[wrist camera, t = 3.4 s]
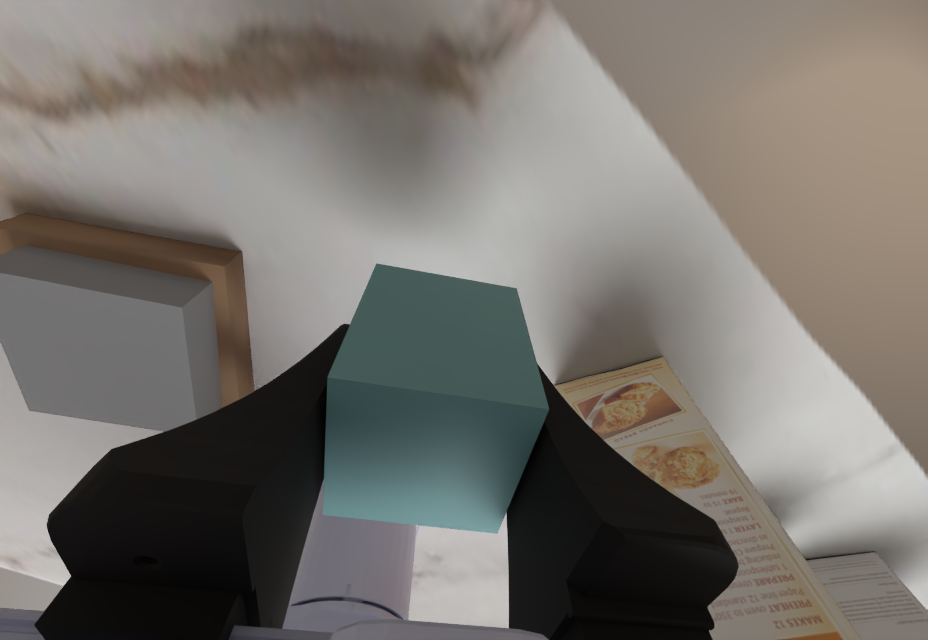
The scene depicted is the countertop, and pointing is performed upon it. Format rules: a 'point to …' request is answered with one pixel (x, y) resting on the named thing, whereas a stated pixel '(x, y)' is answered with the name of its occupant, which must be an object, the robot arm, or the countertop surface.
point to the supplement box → (872, 597)
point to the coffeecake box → (711, 502)
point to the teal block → (431, 403)
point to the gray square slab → (109, 339)
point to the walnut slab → (161, 257)
